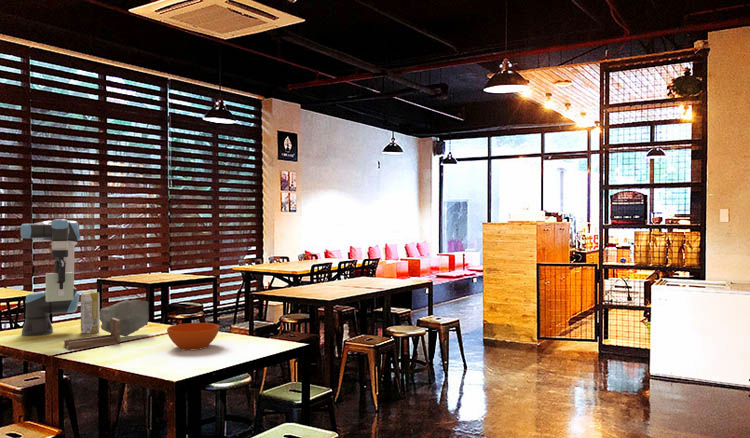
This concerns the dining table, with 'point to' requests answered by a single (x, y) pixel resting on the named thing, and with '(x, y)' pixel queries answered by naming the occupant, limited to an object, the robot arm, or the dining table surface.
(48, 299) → the door panel
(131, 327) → the rock
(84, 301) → the juice carton
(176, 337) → the bowl
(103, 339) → the track
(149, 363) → the dining table surface
